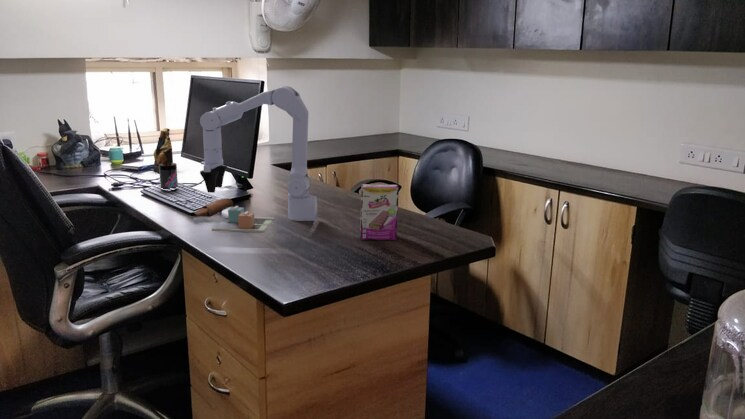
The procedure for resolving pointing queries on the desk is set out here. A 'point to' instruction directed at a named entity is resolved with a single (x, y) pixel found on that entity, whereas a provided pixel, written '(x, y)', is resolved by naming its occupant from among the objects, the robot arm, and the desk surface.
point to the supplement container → (168, 175)
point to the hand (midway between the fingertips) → (214, 189)
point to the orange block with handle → (246, 220)
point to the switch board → (248, 229)
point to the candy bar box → (378, 212)
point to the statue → (163, 150)
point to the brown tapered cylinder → (214, 207)
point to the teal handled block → (234, 213)
